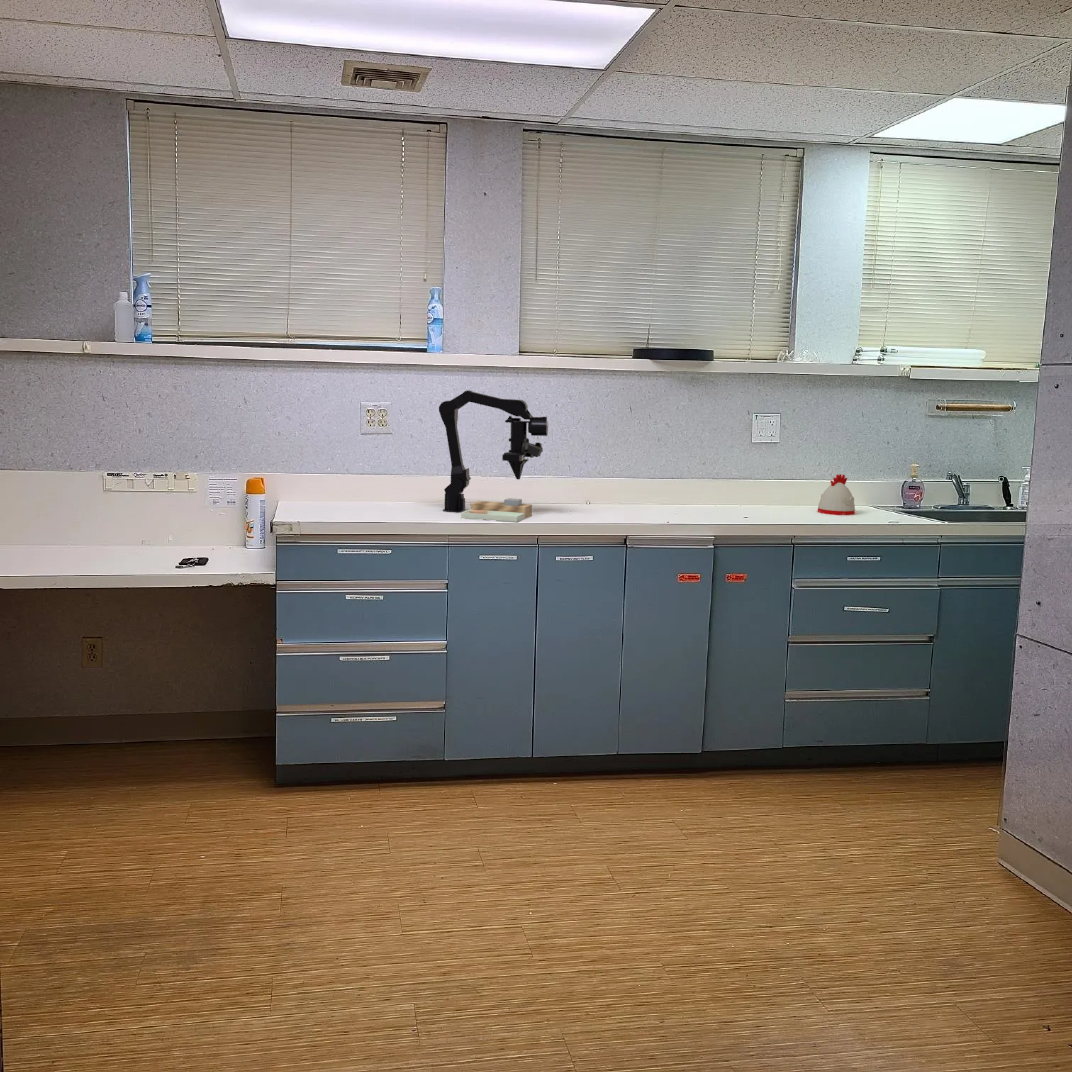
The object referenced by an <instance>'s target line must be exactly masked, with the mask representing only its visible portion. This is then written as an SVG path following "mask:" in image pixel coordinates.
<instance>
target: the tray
mask: <svg viewBox="0 0 1072 1072" xmlns="http://www.w3.org/2000/svg"><path fill="white" fill-rule="evenodd" d="M472 510H473V509H471V508H470V509H467V510H464V511H461V512H460V518H461V519H462V518H465V519H464V520H476V519H486V520H485V521H490V520H496V521H495V522H503V523H504V522H506V523H518V522H521V521H523V520H525V519H526V518H525V513H516V512H501V511H488V514H477V513H469V511H472Z"/></svg>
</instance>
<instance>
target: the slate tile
mask: <svg viewBox="0 0 1072 1072" xmlns="http://www.w3.org/2000/svg"><path fill="white" fill-rule="evenodd" d="M503 500H504V501H503V502H504V505H505V506H520V505H522V504H523V499H522V498H513V497H509V498H505V499H503Z"/></svg>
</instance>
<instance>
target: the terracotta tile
mask: <svg viewBox="0 0 1072 1072" xmlns="http://www.w3.org/2000/svg"><path fill="white" fill-rule="evenodd" d="M469 513H477V514H488V511H487V510H472V511H469Z"/></svg>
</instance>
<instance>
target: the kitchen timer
mask: <svg viewBox="0 0 1072 1072" xmlns="http://www.w3.org/2000/svg"><path fill="white" fill-rule="evenodd" d="M832 479H833V480H831V479H830V485H829V486H827V488H826V489H825V490H824V492H823V493H821V495H820V499H819V502H818V506H817V513H820V514H824V515H831V516H853V515H855V510H856V507H855V506H856V505H855V497H854V496H853V494H852V492H851V491H850V489H849V488H848V487H847V485H846V483H847V481H848V477H846V475H845V474H838V473H837V474H836V475H835V477H832Z"/></svg>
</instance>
